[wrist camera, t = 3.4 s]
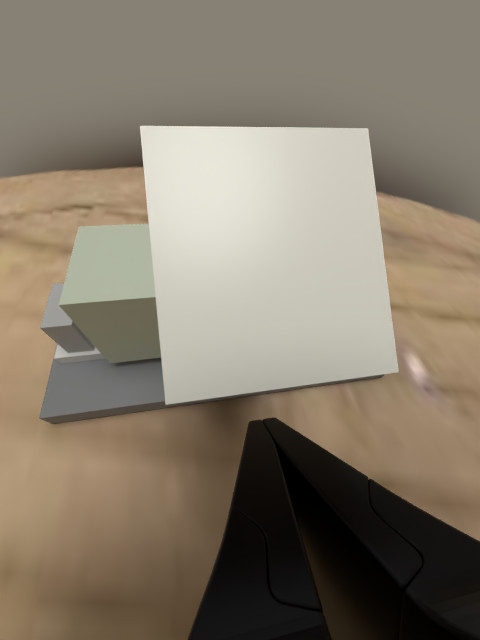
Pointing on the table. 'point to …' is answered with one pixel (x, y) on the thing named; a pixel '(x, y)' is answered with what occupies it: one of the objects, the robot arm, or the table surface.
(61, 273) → the table surface
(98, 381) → the rail board
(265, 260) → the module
